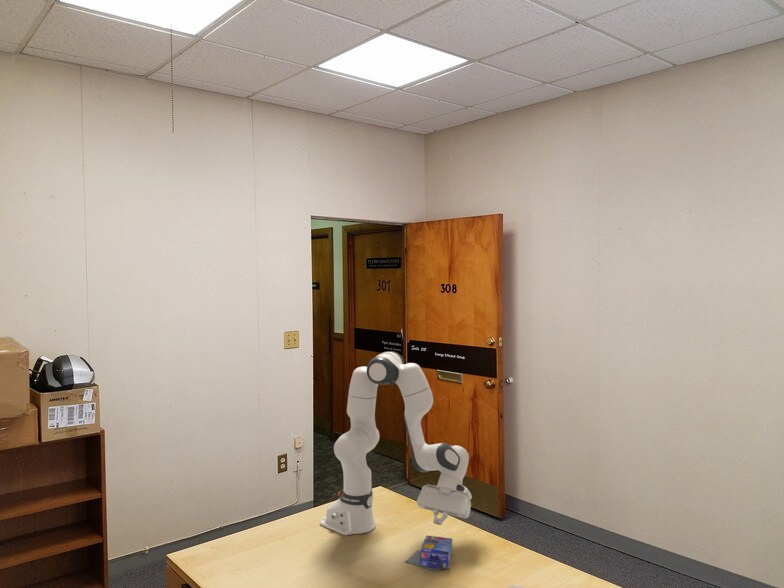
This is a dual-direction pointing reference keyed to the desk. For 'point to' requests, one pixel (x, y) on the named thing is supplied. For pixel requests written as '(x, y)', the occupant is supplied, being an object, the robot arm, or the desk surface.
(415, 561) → the mat
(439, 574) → the desk surface
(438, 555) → the ink cartridge box
